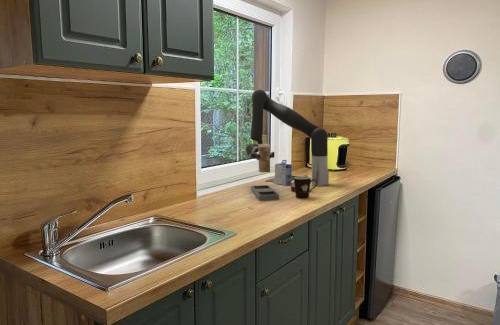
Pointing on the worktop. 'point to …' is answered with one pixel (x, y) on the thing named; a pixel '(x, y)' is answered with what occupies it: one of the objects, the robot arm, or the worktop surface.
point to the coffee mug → (303, 186)
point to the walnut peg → (264, 157)
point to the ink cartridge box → (283, 173)
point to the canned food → (294, 186)
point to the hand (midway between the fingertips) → (265, 156)
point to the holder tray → (264, 193)
